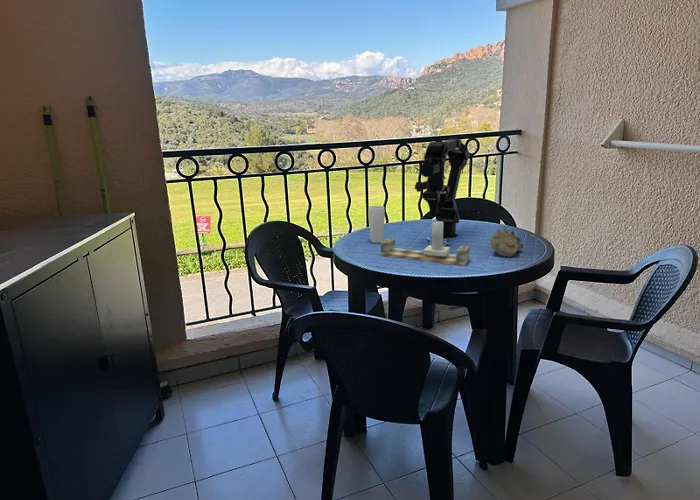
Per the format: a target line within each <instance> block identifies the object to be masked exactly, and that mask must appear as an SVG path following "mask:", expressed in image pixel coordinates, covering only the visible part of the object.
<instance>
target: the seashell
mask: <svg viewBox="0 0 700 500" xmlns="http://www.w3.org/2000/svg"><path fill="white" fill-rule="evenodd" d="M490 243H491V247H492V249H493V251H494V252H495V253H496V254H498V255H499V256H502V257H504V258H505V257H506V256H507V258H508V257H509V258H511V257H513V256H515V254H516V253H517V252H518V250H523V249H524V244H523V243H521V239H520V238H519V237H518V236H517V235H516V234H515V231H513V230H512V231H508V229H507V228H505V227H503V228H502V230H500V229H497V231H496V232H495V233H494V234H493V235H492V234H491V239H490Z"/></svg>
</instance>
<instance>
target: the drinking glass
mask: <svg viewBox="0 0 700 500" xmlns="http://www.w3.org/2000/svg"><path fill="white" fill-rule="evenodd" d="M385 210H386V209H385V206H384V205H371V206H369V207H368V210H367V211H368V214H367V215H368V216H367V217H368V225H369V235H370V238H369V239H370V242H371V243H373V244H381V242H382V241H384V231H385V230H384V228H385V216H386V215H385V213H386V212H385Z"/></svg>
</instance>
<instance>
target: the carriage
mask: <svg viewBox="0 0 700 500" xmlns="http://www.w3.org/2000/svg"><path fill="white" fill-rule="evenodd" d="M443 245H444V237H443V222H442V221H437V220H433V221H432V222H431V244H429V245H428V246H426V247H425V248H424V249H423V251H424V254H427V255H436V256H446V255H447V254H450V252H451V247H450V246H443Z"/></svg>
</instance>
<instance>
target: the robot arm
mask: <svg viewBox="0 0 700 500" xmlns="http://www.w3.org/2000/svg"><path fill="white" fill-rule="evenodd" d="M447 157H448V163H449V165H450V170H449V175H448V179H447V183H446V184H445V179H446V175H445V167H446V166H445V164H446V163H445V162H446V161H447V160H446V158H447ZM469 159H470V151H469V148H468V146H467V145H465V144H464V143H463V142H462V139H460V138H449V139H448V140H444V141H430V142H429V143H428V145H427V147H426V151H425V153H424V157H423V161H424V162H423V163H422V164H420V168H419V172H420V175H421V176H423V178H427V179H426V180H425V181H421V180H419V181H416V182H415V185H414V189H415V190H416V192H417V193H420V192H421V191H423V192H422V196H421V198H422V199H423V200H424V201H425V202H426V203H427V204H428V207H429V212H430V215H431V216H434V215H435V214H436V221H442V222H443V238H453V237H458V234H457V233H456V229H457V228H456V227H457V224H459V223H460V215H459V211H458V206H457V204H456V199H457V193H458V189H459V184H460V179H461V174H462V170H463V169H464V168H465V167H466V166H467V164H468V161H469Z"/></svg>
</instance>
